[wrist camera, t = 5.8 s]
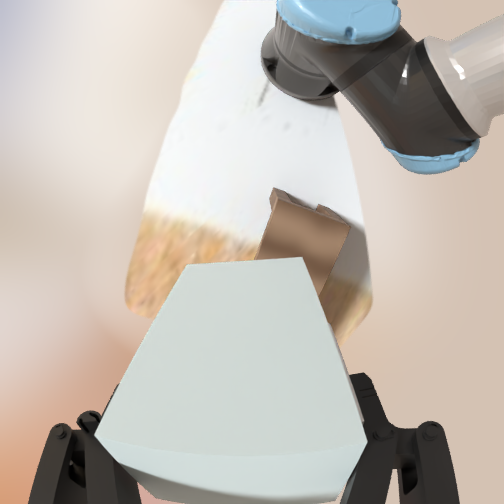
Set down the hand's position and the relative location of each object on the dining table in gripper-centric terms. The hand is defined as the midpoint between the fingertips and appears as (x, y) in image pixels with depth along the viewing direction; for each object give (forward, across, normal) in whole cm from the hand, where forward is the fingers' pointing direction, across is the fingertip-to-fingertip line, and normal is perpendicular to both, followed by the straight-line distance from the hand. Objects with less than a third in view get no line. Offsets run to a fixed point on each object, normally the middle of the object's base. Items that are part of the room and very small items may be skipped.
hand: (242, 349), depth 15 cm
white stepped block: (+6, 0, -9) cm, 10 cm away
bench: (+33, +3, -8) cm, 35 cm away
